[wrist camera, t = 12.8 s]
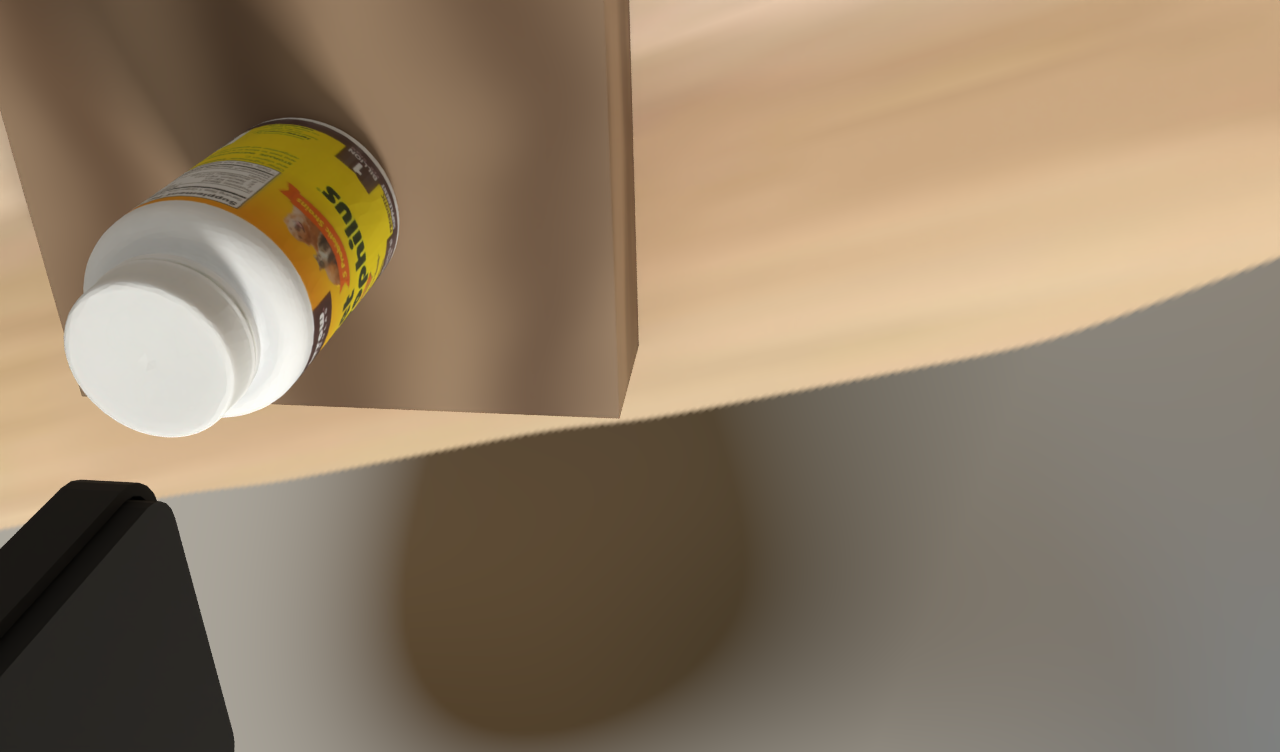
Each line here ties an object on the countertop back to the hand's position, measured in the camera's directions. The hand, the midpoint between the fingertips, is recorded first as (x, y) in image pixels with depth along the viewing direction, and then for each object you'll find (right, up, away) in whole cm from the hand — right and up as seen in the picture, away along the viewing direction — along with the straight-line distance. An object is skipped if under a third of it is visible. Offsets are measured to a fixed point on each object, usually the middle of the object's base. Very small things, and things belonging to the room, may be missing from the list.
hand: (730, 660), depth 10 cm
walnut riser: (-10, +10, +30) cm, 33 cm away
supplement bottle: (-10, +7, +26) cm, 29 cm away
